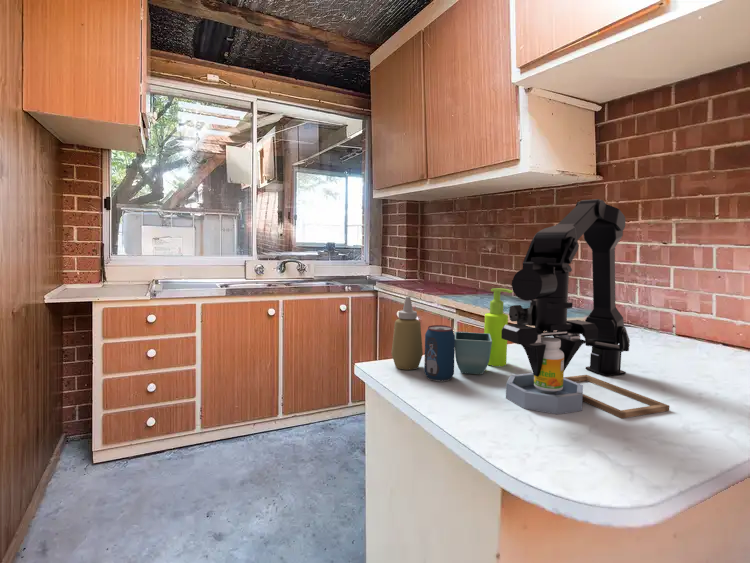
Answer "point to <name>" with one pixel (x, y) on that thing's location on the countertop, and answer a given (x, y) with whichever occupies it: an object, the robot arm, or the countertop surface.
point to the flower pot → (472, 351)
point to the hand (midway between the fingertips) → (548, 374)
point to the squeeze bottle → (407, 339)
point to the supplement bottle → (551, 366)
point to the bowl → (544, 395)
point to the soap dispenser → (497, 329)
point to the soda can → (439, 353)
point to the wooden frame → (654, 404)
